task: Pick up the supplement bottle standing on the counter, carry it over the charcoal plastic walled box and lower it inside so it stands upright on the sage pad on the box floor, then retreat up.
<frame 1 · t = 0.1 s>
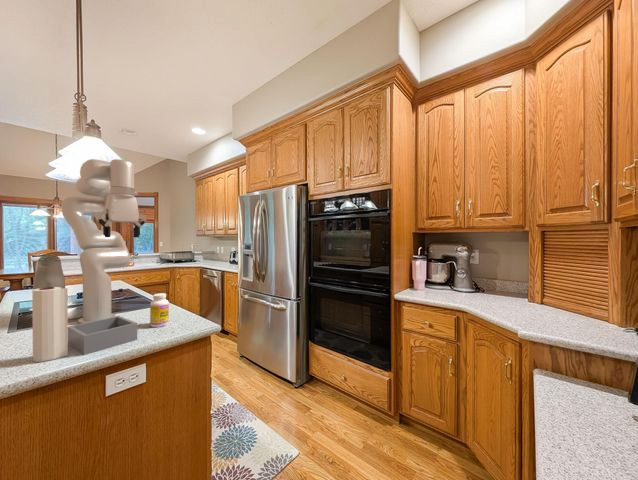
hand: (122, 237, 103), 37 cm above the worktop, tool pointing down, fingers open, 9 cm apart
glass bottle: (49, 317, 121), on the worktop
paper towel roll: (48, 358, 81), on the worktop
walled box: (103, 341, 94), on the worktop
supplement bottle: (159, 325, 112), on the worktop
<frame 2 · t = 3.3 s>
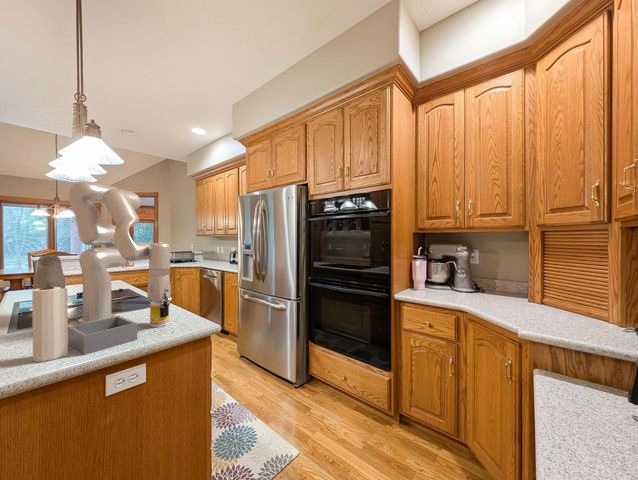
hand: (159, 314, 112), 4 cm above the worktop, tool pointing down, fingers closed on supplement bottle, 6 cm apart
supplement bottle: (159, 325, 112), on the worktop, touching gripper
everything else where it was.
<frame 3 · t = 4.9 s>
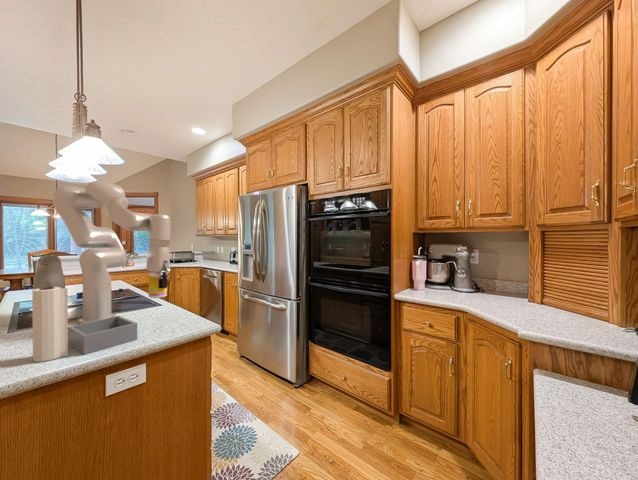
hand: (158, 286, 112), 16 cm above the worktop, tool pointing down, fingers closed on supplement bottle, 6 cm apart
supplement bottle: (157, 297, 112), point 12 cm above the worktop, touching gripper
everything else where it was.
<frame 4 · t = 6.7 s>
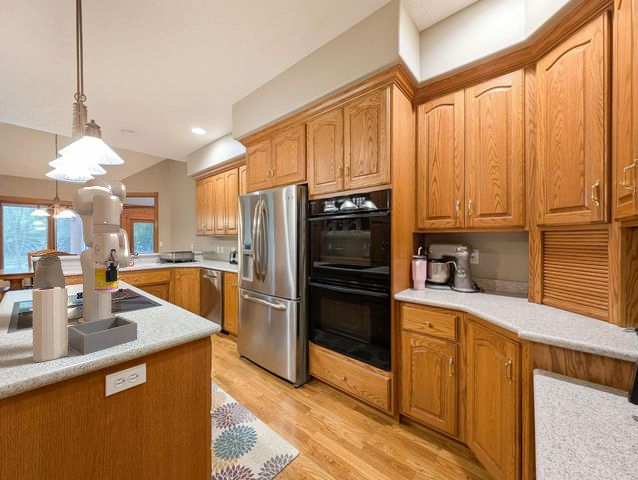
hand: (106, 280, 94), 22 cm above the worktop, tool pointing down, fingers closed on supplement bottle, 6 cm apart
supplement bottle: (106, 292, 94), point 17 cm above the worktop, touching gripper
everything else where it was.
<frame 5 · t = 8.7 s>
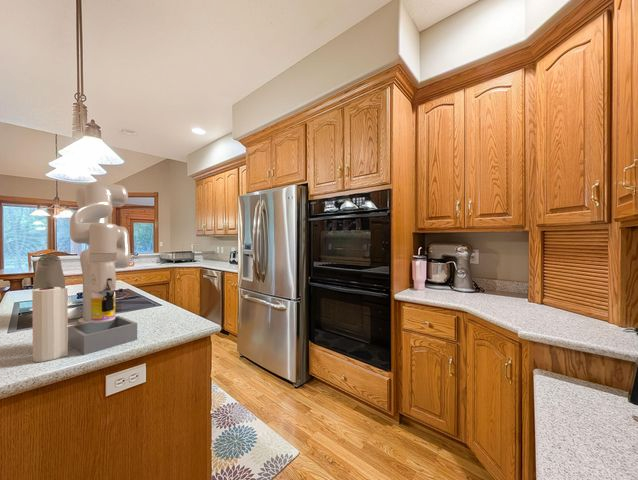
hand: (103, 308, 94), 12 cm above the worktop, tool pointing down, fingers closed on supplement bottle, 6 cm apart
supplement bottle: (103, 321, 94), point 7 cm above the worktop, touching gripper
everything else where it was.
when the fingers open (7 cm above the worktop, at t = 10.2 s): supplement bottle drops 1 cm, resting on walled box.
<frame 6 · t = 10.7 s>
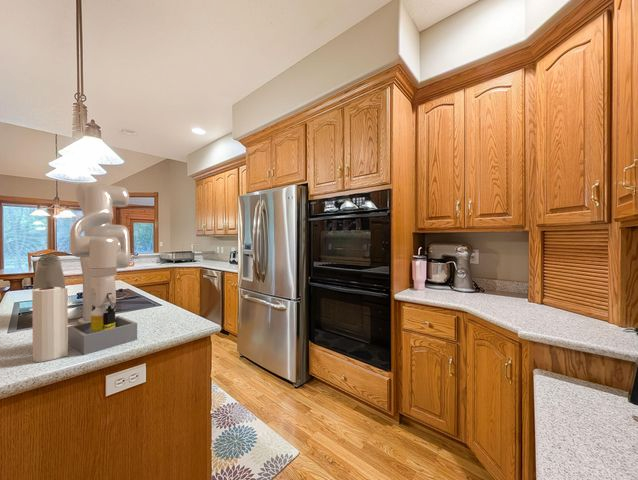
hand: (103, 321, 94), 7 cm above the worktop, tool pointing down, fingers open, 9 cm apart
supplement bottle: (103, 338, 94), point 1 cm above the worktop, touching walled box
everything else where it was.
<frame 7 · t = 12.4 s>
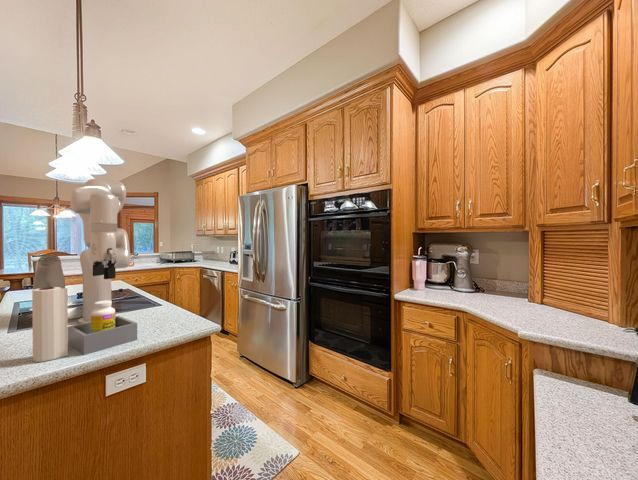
hand: (103, 277, 95), 23 cm above the worktop, tool pointing down, fingers open, 9 cm apart
nothing on the worktop moved.
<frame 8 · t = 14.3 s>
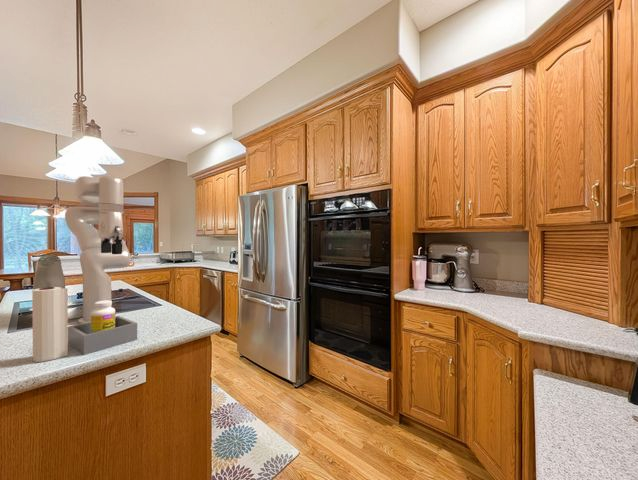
hand: (111, 253, 104), 30 cm above the worktop, tool pointing down, fingers open, 9 cm apart
nothing on the worktop moved.
at the end: supplement bottle inside the target area on the walled box (0.3 cm from its centre), point 1.0 cm above the walled box's base; supplement bottle tilted 0°; the gripper is holding nothing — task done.
